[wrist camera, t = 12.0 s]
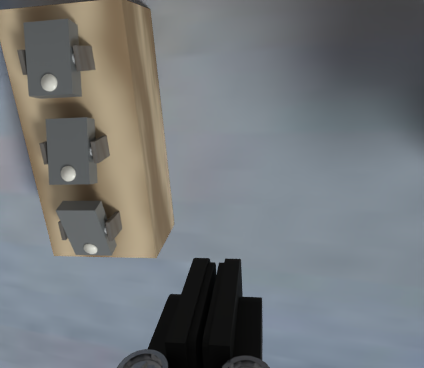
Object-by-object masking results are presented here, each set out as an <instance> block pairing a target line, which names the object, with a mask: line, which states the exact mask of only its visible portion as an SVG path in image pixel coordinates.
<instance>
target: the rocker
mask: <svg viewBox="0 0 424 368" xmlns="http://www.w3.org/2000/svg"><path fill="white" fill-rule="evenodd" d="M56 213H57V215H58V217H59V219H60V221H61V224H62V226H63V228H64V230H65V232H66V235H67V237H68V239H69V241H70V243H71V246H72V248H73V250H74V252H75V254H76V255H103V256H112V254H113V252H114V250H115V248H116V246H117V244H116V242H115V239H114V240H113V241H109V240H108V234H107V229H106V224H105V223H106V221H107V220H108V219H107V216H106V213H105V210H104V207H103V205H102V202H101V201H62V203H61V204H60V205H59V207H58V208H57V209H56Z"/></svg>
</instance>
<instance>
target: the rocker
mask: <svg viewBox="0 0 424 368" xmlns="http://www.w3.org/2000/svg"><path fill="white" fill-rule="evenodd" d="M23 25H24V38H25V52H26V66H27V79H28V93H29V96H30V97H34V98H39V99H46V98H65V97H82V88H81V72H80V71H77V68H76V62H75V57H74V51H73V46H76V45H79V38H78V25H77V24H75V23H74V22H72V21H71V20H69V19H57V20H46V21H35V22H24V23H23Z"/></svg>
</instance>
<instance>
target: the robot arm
mask: <svg viewBox="0 0 424 368" xmlns="http://www.w3.org/2000/svg"><path fill="white" fill-rule="evenodd" d="M117 368H270V367H269V366H268V365H267V364H266V363H265V362H264V361H262V298H259V297H242V273H241V259H225V262H224V263H219V266H218V271H217V275H216V264H215V263H213V262H210V259H209V258H194V259H193V262H192V265H191V268H190V271H189V273H188V276H187V279H186V282H185V285H184V288H183V291H182V294H170V295H169V297H168V299H167V301H166V304H165V307H164V309H163V312H162V314H161V317H160V319H159V322H158V324H157V327H156V329H155V332H154V334H153V337H152V339H151V342H150V344H149V347H148V349H145V350H139V351H136V352H134V353H132V354H130V355H128V356H127V357H126V358H124V359H123V360H122V362H121V363H120V364H119V365H118V367H117Z"/></svg>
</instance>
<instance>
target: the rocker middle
mask: <svg viewBox="0 0 424 368" xmlns="http://www.w3.org/2000/svg"><path fill="white" fill-rule="evenodd" d="M46 137H47V155H48V172H49V185H76V184H95V183H98V180H97V163H94V159H93V154H92V148H91V143H90V142H91V141H93V140H95V139H96V137H95V119H92V118H88V117H81V118H57V119H46Z"/></svg>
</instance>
